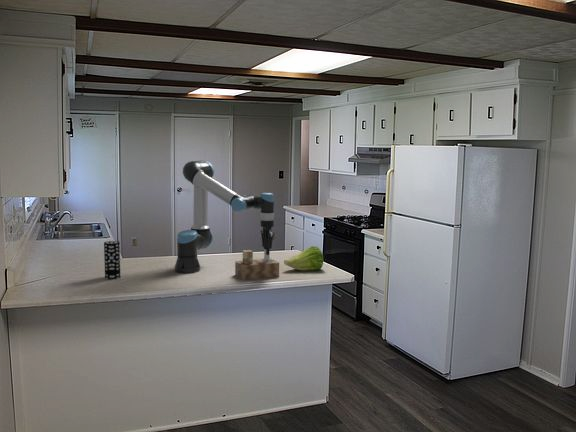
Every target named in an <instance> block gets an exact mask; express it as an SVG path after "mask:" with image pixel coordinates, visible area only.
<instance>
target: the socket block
mask: <svg viewBox="0 0 576 432" xmlns="http://www.w3.org/2000/svg"><path fill="white" fill-rule="evenodd" d="M263 260H264V258H258V259H257V258H256V259H253V264H244V263H243V260H236V261H234V262H235V263H234V272H235V273H234V274H235V276H236V277H238V278H240V279H242V280H243V281H249V280H257V279H267V278H276V277H280V262H279V261H276V260H275V259H272V258H270V257H269V260H270V262H263Z"/></svg>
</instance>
